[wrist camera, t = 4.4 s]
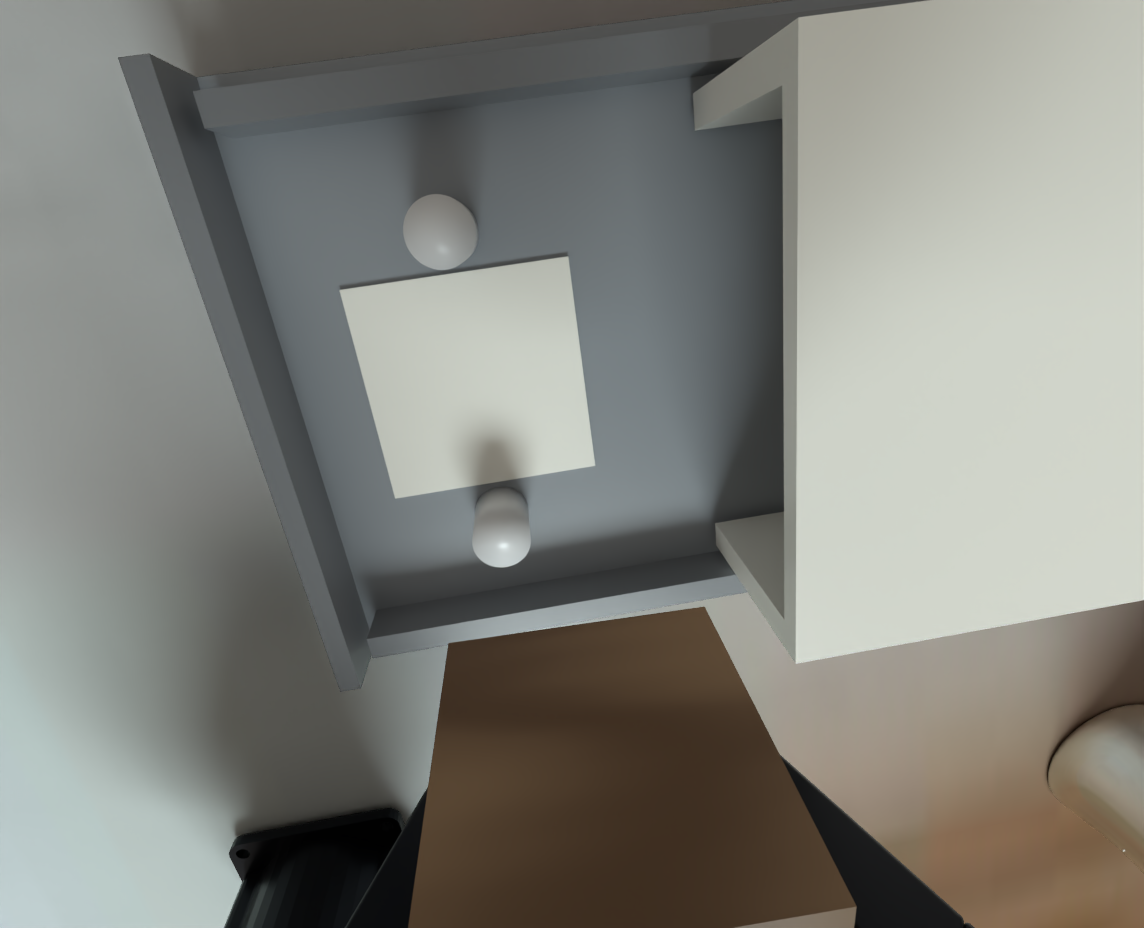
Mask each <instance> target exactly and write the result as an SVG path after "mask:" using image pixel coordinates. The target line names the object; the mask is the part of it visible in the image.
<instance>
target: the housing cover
mask: <svg viewBox="0 0 1144 928" xmlns="http://www.w3.org/2000/svg"><path fill="white" fill-rule="evenodd" d="M693 105H694V124H695V131H696V130H703V129H710V128H717V127H725V126H732V125H739V124H746V123H753V122H761V121H768V120H775V119H782V130H783V379H784V512H778V513H772V514H766V515H760V516H754V517H748V518H743V519H737V520H731V521H725V522H719V523H715V531H716V546H717V547H718V549H719V550H720V552H721V553H722V555H723V556H724V558H725V559H726V561H727V562H728V564H729V565H730V567H731V568H732V570H733V571H734V573H735V574H736V576H737V577H738V579H739V580H740V582H741V583H742V584H743V586H744V587H745V589H746V590H747V592H748V593H749V595H750V596H751V598H752V599H753V601H754V602H755V604H756V605H757V607H758V608H759V610H760V611H761V613H762V614H763V616H764V617H765V619H766V620H767V622H768V623H769V625H770V626H771V628H772V629H773V631H774V632H775V634H776V635H777V637H778V638H779V640H780V641H781V643H782V644H783V646H784V647H785V649H786V650H787V652H788V653H789V655H790V656H791V658H792V659H793V661H794V662H795V664H797V663H802V662H808V661H813V660H819V659H824V658H830V657H835V656H841V655H846V654H852V653H857V652H862V651H868V650H873V649H879V648H884V647H890V646H895V645H901V644H906V643H912V642H917V641H923V640H928V639H934V638H939V637H945V636H950V635H956V634H961V633H966V632H972V631H977V630H983V629H988V628H994V627H999V626H1005V625H1010V624H1016V623H1021V622H1027V621H1032V620H1038V619H1043V618H1049V617H1054V616H1060V615H1065V614H1070V613H1076V612H1081V611H1087V610H1092V609H1098V608H1103V607H1109V606H1114V605H1120V604H1125V603H1131V602H1136V601H1142V600H1144V0H928V1H920V2H912V3H905V4H897V5H889V6H882V7H874V8H866V9H859V10H851V11H843V12H836V13H828V14H820V15H813V16H805V17H798V18H797V19H796V20H794V21H793V22H791V23H790V24H789V25H787V26H786V27H784V28H783V29H782V30H780V31H779V32H778V33H776V34H775V35H773V36H772V37H771V38H769V39H768V40H766V41H765V42H764V43H762V44H761V45H760V46H758V47H757V48H755V49H754V50H753V51H751V52H750V53H748V54H747V55H746V56H744V57H743V58H742V59H740V60H739V61H737V62H736V63H735V64H733V65H732V66H730V67H729V68H728V69H726V70H725V71H724V72H722V73H721V74H719V75H718V76H717V77H715V78H714V79H712V80H711V81H710V82H708V83H707V84H706V85H704V86H703V87H701V88H700V89H699V90H697V91H696V92H694V93H693Z"/></svg>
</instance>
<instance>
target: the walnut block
mask: <svg viewBox="0 0 1144 928" xmlns="http://www.w3.org/2000/svg"><path fill="white" fill-rule="evenodd" d="M856 908H857V906H856V904H855V902H854V900H853V898H852V896H851V894H850V892H849V891H848V889H847V887H846V885H845V883H844V881H843V879H842V877H841V875H840V873H839V871H838V869H837V867H836V865H835V863H834V861H833V859H832V857H831V855H830V853H829V851H828V849H827V847H826V845H825V843H824V841H823V839H822V837H821V835H820V833H819V831H818V829H817V827H816V826H815V824H814V822H813V820H812V818H811V816H810V814H809V812H808V810H807V808H806V806H805V804H804V802H803V800H802V798H801V796H800V794H799V792H798V790H797V788H796V786H795V784H794V782H793V780H792V778H791V776H790V774H789V772H788V770H787V768H786V766H785V764H784V762H783V761H782V759H781V757H780V755H779V753H778V751H777V749H776V747H775V745H774V743H773V741H772V739H771V737H770V735H769V733H768V731H767V729H766V727H765V725H764V723H763V721H762V719H761V717H760V715H759V713H758V711H757V709H756V707H755V705H754V703H753V701H752V699H751V697H750V696H749V694H748V692H747V690H746V688H745V686H744V684H743V682H742V680H741V678H740V676H739V674H738V672H737V670H736V668H735V666H734V664H733V662H732V660H731V658H730V656H729V654H728V652H727V650H726V648H725V646H724V644H723V642H722V640H721V638H720V636H719V634H718V632H717V631H716V629H715V627H714V625H713V623H712V621H711V619H710V617H709V615H708V613H707V611H706V609H705V607H699V608H692V609H685V610H678V611H671V612H664V613H657V614H650V615H643V616H635V617H628V618H621V619H614V620H607V621H600V622H593V623H586V624H579V625H572V626H565V627H558V628H551V629H544V630H537V631H530V632H523V633H516V634H509V635H502V636H495V637H488V638H481V639H474V640H466V641H459V642H452V643H449V644H448V651H447V658H446V665H445V672H444V679H443V686H442V693H441V700H440V707H439V714H438V721H437V728H436V735H435V742H434V749H433V756H432V763H431V770H430V777H429V784H428V791H427V798H426V805H425V812H424V819H423V826H422V833H421V840H420V847H419V854H418V861H417V868H416V875H415V882H414V890H413V897H412V904H411V911H410V918H409V925H408V928H854V924H855V916H856Z"/></svg>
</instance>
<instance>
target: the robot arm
mask: <svg viewBox="0 0 1144 928" xmlns="http://www.w3.org/2000/svg"><path fill="white" fill-rule="evenodd" d="M779 755H780V754H779ZM780 757H781V759H782V761H783V762H784V764H785V766H786V768H787V770H788V772H789V774H790V776H791V778H792V780H793V782H794V784H795V786H796V788H797V790H798V792H799V794H800V796H801V798H802V800H803V802H804V804H805V806H806V808H807V810H808V812H809V814H810V816H811V818H812V820H813V822H814V824H815V826H816V827H817V829H818V831H819V833H820V835H821V837H822V839H823V841H824V843H825V845H826V847H827V849H828V851H829V853H830V855H831V857H832V859H833V861H834V863H835V865H836V867H837V869H838V871H839V873H840V875H841V877H842V879H843V881H844V883H845V885H846V887H847V889H848V891H849V892H850V894H851V896H852V898H853V900H854V902H855V904H856V906H857V908H856V916H855V924H854V928H974V927H973V926H972V925H971V924H970V923H965V924H964V920H963V918H962V916H960V915H959V914H958V913H957V912H956V911H955V910H954V909H953V908H952V907H950V906H949V905H948V904H947V903H946V902H945V901H944V900H943V899H941V898H940V897H939V896H938V895H937V894H936V893H935V892H934V891H932V890H931V889H930V888H929V887H928V886H927V885H926V884H925V883H923V882H922V881H921V880H920V879H919V878H918V877H917V876H916V875H914V874H913V873H912V872H911V871H910V870H909V869H908V868H907V867H905V866H904V865H903V864H902V863H901V862H900V861H899V860H898V859H897V858H895V857H894V856H893V855H892V854H891V853H890V852H889V851H888V850H886V849H885V848H884V847H883V846H882V845H881V844H880V843H879V842H877V841H876V840H875V839H874V838H873V837H872V836H871V835H870V834H868V833H867V832H866V831H865V830H864V829H863V828H862V827H861V826H859V825H858V824H857V823H856V822H855V821H854V820H853V819H852V818H851V817H849V816H848V815H847V814H846V813H845V812H844V811H843V810H842V809H840V808H839V807H838V806H837V805H836V804H835V803H834V802H833V801H831V800H830V799H829V798H828V797H827V796H826V795H825V794H824V793H822V792H821V791H820V790H819V789H818V788H817V787H816V786H815V785H813V784H812V783H811V782H810V781H809V780H808V779H807V778H806V777H804V776H803V775H802V774H801V773H800V772H799V771H798V770H797V769H796V768H794V767H793V766H792V765H791V764H790V763H789V762H788V761H787V760H785V759H784V758H783V757H782V756H781V755H780ZM427 791H428V787H427V789H426V791H425V792H424V794H423V796H422V798H421V799H420V801H419V803H418V804H417V806H416V808H415V810H414V811H413V813H412V815H411V816H410V818H409V820H408V821H407V823H406V825H405V824H404V821H403V818H402V815H401V814H400V812H399V811H397V810H396V809H392V808H385V809H380V810H374V811H369V812H364V813H358V814H353V815H348V816H342V817H337V818H332V819H326V820H321V821H316V822H311V823H305V824H300V825H295V826H289V827H284V828H279V829H273V830H268V831H263V832H257V833H252V834H247V835H242V836H239V837H237V838H236V839H235V840H234V842H233V845H232V847H231V849H230V852H229V856H230V858H231V860H232V862H233V864H234V866H235V868H236V870H237V872H238V874H239V876H240V878H241V880H242V884H241V887H240V889H239V892H238V894H237V897H236V899H235V902H234V904H233V907H232V909H231V912H230V914H229V917H228V919H227V922H226V924H225V927H224V928H408V925H409V918H410V911H411V904H412V897H413V890H414V882H415V875H416V868H417V861H418V854H419V847H420V840H421V833H422V826H423V819H424V812H425V805H426V798H427Z"/></svg>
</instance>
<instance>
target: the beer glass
mask: <svg viewBox="0 0 1144 928" xmlns="http://www.w3.org/2000/svg"><path fill="white" fill-rule="evenodd" d="M1048 783H1049V787H1050V790H1051V792H1052V793H1053V795H1054V796H1055V798H1056V799H1057V800H1058V801H1059V802H1060V803H1061V804H1063V805H1064V806H1065V807H1066V808H1068V809H1069V810H1070V811H1071V812H1073V813H1074V814H1075V815H1077V816H1078V817H1079V818H1081V819H1082V820H1083V821H1085V822H1086V823H1087V824H1088V825H1090V826H1091V827H1092V828H1094V829H1095V830H1096V831H1098V832H1099V833H1100V834H1101V835H1103V836H1104V837H1105V838H1106V839H1108V840H1109V841H1110V842H1111V843H1112V844H1113V845H1115V846H1116V847H1117V848H1118V849H1119V850H1120V851H1121V852H1122V853H1123V854H1124V855H1125V856H1126V857H1128V858H1129V859H1130V860H1131V861H1132V862H1133V863H1134V864H1135V865H1136V866H1137V867H1138V868H1139V870H1140V871H1141V872H1142V873H1143V874H1144V704H1135V705H1126V706H1121V707H1117V708H1114V709H1111V710H1108V711H1106V712H1103V713H1101V714H1099V715H1097V716H1095V717H1093V718H1092V719H1090V720H1088V721H1087V722H1085V723H1084V724H1082V725H1081V726H1080V727H1078V728H1077V729H1076V730H1075V731H1073V732H1072V733H1071V734H1070V735H1069V736H1068V737H1067V738H1066V739H1065V740H1064V742H1063V743H1062V744H1061V745H1060V747H1059V748H1058V749H1057V751H1056V753H1055V754H1054V756H1053V758H1052V761H1051V763H1050V766H1049V771H1048Z"/></svg>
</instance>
